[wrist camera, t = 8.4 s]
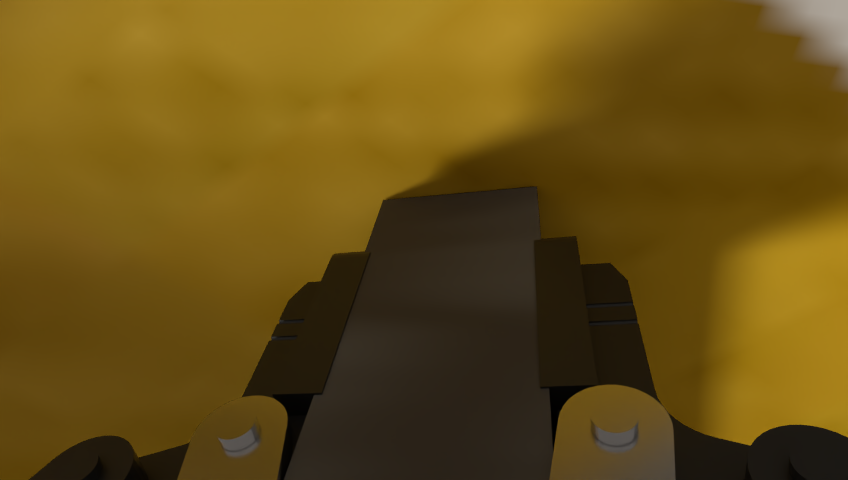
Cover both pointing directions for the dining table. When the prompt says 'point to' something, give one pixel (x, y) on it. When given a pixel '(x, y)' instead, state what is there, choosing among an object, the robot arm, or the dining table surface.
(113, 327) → the dining table surface
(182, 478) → the robot arm
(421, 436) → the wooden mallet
